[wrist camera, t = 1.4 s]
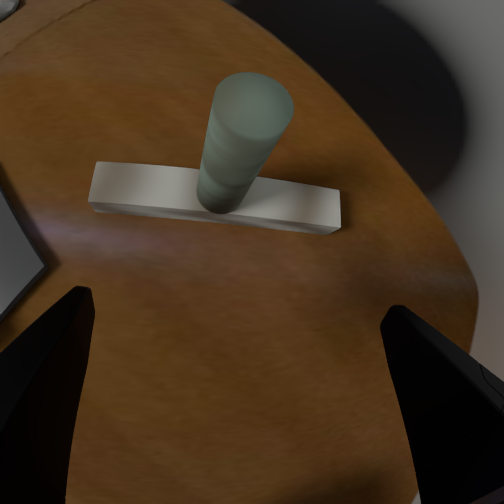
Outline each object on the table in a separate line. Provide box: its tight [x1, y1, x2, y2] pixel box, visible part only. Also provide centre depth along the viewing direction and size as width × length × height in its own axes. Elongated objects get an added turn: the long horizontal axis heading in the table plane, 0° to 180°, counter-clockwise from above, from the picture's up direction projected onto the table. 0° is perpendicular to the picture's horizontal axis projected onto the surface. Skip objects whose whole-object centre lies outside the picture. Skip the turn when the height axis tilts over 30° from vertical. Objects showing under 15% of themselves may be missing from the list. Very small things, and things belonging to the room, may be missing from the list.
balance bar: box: [88, 72, 341, 235], centre depth 17 cm, size 18×3×12 cm, turn 88°
